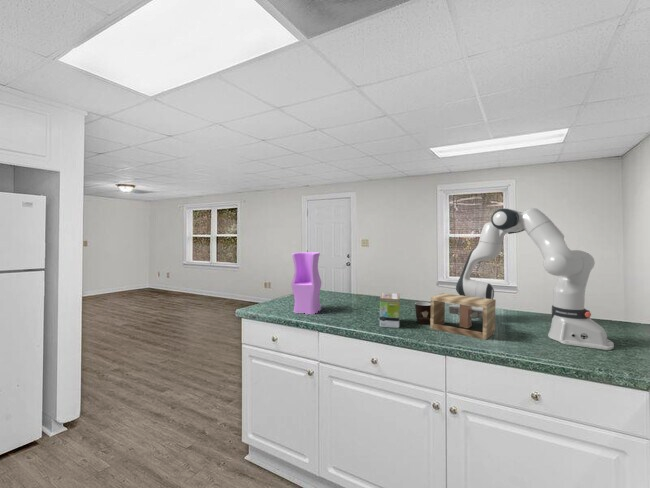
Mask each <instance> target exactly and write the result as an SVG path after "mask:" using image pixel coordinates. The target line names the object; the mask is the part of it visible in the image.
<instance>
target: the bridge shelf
mask: <svg viewBox="0 0 650 488" xmlns="http://www.w3.org/2000/svg"><path fill="white" fill-rule="evenodd" d="M430 303H431V318H430V329H431V330H435V331H440V332H445V333H450V334H454V335H455V334H456V335H461V336H465V337H470V338H476V339H481V340H488V339H489V338H491V336H492V334H493V333H494V334H495V333H496V304H497V303H496V299H494V298H493V299H486V298H478V297H470V296H462V295H459V294H453V293H451V294H450V293H445V292H444V293H443V292H441V293H438V294H436V295H433V296H430ZM446 303H448V304H453V305H460V304H461V305H468V306H475V307H482V308H483V318H482V332H481V331H477V330H471V329H468V328H462V327H456V326H450V325H444V324H445V321H446V320H445V317H446V316H445V315H446V314H445V312H446V305H445V304H446ZM494 334H493V335H494Z"/></svg>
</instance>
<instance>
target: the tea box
mask: <svg viewBox="0 0 650 488" xmlns="http://www.w3.org/2000/svg"><path fill="white" fill-rule="evenodd" d="M379 298H380V299H379V327H380V328H393V329H399V328H400V313H401V308H400V307H401V305H400V304H401V299H400V293H390V292H389V293H388V292H381V293H380V297H379Z"/></svg>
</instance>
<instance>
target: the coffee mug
mask: <svg viewBox="0 0 650 488" xmlns="http://www.w3.org/2000/svg"><path fill="white" fill-rule="evenodd" d="M414 307H415V315H416V317H415V318H416V323H417V324H419V325H429V324H431V302H428V301H427V302H426V301H418V302H415V303H414Z"/></svg>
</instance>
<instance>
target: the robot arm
mask: <svg viewBox="0 0 650 488" xmlns="http://www.w3.org/2000/svg"><path fill="white" fill-rule="evenodd" d="M524 231H525V233H526V234H527V235H528V236H529V237H530V238H531V240H532V241H533V243H534V244H535V245H536V246H537V247H538V249H539V250H540V252H541V253H540V254H541V255H542V257H543V260H544V261H543V267H544V270H545V271H546V272H547V273H548V274H550V275H551V276H557V277H558V280H557V281H556V284H555V285H554V286H553V291H552V292H553V294H552V295H553V298H552V306H551V313H550V315H551V318H552V319H551V322H550V323H551V325H550V329H549V331H548V335H547V337H548V338H549V339H552V340H554V341H556V342H559V343H561V344H562V345H568V346H575V347H583V348H590V349H597V350H605V351H610V350H613V349H615V344H614V342H613V341H611V340H610V339H608V334H607V333H606V330H605V329H604V327H602V326H601V325H600V324H598V323H597V322H595V321H594V320H593V319H591V316H592V312H591V311H590V310H588V309H586V308H585V299H586V298H585V296H586V287H587V284H588V280H589V277H590V273H591V272H592V270H593V269H594V267H595V264H596V263H595V261H596V260H595V258H594V257H593V255H592V254H590V253H588V252H586V251H583V250H580V249H574V250H572V249H570V248H569V247H568V245H567V243H566V241H565V235H564V234H563V232H562V231H561V230H560V229H559V228H558V226H556V224H555V223H554V221H553V220H551V219H550V218H549V217H548V216H547V215H546V214H545V213H544V212H543V211H541V210H540V209H538V208H533V207H531V208H528V209H527V210H525V211H523V212H521V211H518V210H515V209H509V208H499V209H497V210H495V211H494V212H493V213H492V215H491V218H490V221H488V222H486V223H485V224H484V225H483V226H482V230H481V232H480V236H479V240H478V244H477V246H476V247H475V248H474V249H473V250H471V251H470V252H469V254H468V256H467V258H466V261H465V263H464V266H463V269H462V271H461V274H460V277H459V279H458V280H457V283H456V285H455V290H456V293H457V295H462V296H470V297H478V298H486V299H494V297H495V290H494V287H493V286H492V284H491V283H488V282H484V281H479V280H475V279H472V278H471V274H472V272H473V269H474V267H475V266H476V264H477V263H478V262H483V261H489V260H493V259H495V258H497V257H499V255H500V253H501V251H502V247H503V241H504V238H505V237H504V236H505V235H507V234H509V235H511V234H519V233H522V232H524ZM448 313H449V314H451V315H458V316H460V304H452V305H449V306H448ZM469 317H471V319H472V320H473V319H483V308H482V307H475V306H472V310H471V313H469Z"/></svg>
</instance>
